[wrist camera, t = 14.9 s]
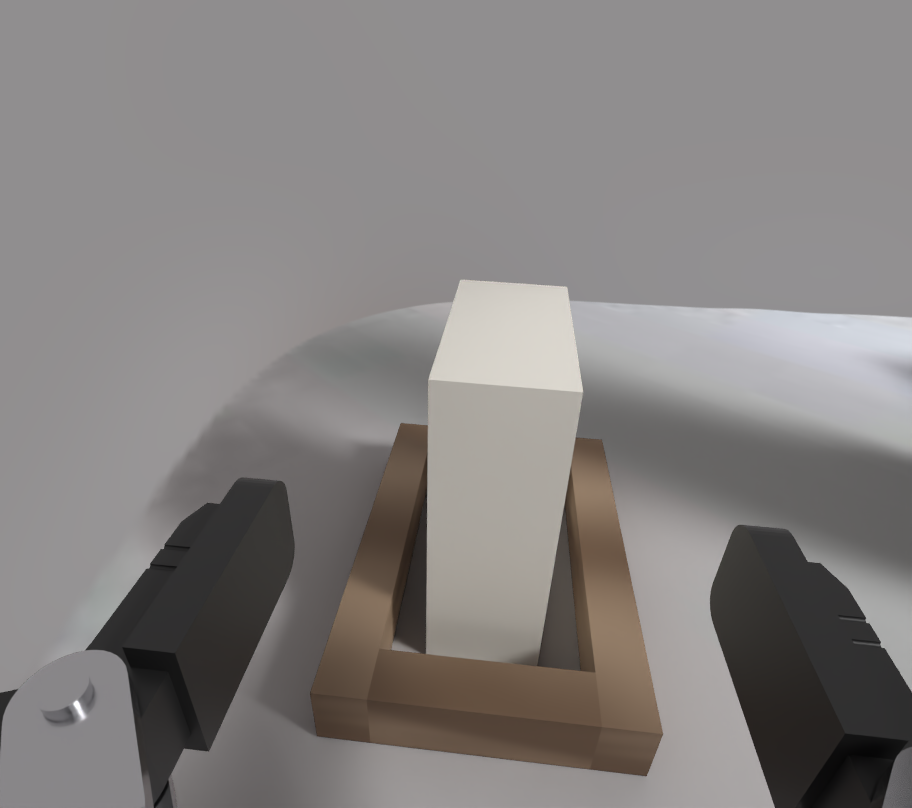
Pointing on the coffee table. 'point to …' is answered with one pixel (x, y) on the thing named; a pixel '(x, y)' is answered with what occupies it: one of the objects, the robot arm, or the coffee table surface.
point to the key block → (498, 467)
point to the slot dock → (487, 682)
